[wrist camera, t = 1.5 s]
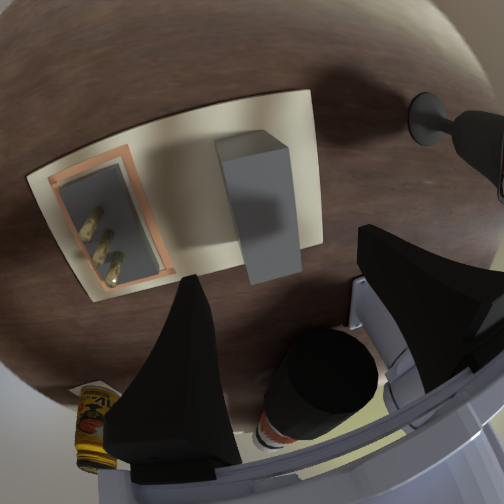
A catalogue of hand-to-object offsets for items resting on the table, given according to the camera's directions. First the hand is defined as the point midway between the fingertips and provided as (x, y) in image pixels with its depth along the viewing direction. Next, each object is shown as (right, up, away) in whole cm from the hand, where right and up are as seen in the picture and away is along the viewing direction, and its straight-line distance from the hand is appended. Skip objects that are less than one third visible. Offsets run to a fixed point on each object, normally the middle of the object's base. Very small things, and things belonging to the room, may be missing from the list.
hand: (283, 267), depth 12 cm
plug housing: (-1, +5, +7) cm, 9 cm away
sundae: (+14, +12, +7) cm, 20 cm away
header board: (-6, +4, +7) cm, 11 cm away
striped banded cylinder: (+3, -21, +28) cm, 35 cm away
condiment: (-22, -20, +20) cm, 36 cm away
